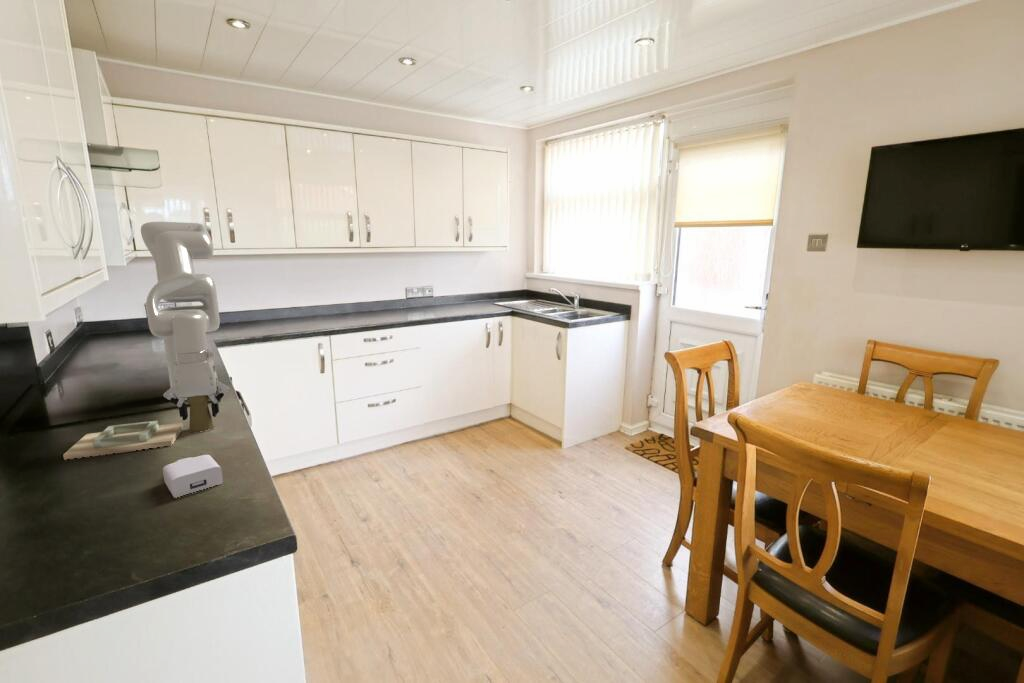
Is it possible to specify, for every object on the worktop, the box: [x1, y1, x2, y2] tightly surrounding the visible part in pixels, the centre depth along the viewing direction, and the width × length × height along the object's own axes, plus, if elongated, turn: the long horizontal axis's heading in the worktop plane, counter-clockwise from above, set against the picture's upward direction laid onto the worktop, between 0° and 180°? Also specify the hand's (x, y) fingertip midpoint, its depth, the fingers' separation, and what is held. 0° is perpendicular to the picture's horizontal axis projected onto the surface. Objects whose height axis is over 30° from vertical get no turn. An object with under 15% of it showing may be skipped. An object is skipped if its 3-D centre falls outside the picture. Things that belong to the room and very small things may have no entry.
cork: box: [186, 395, 215, 433], centre depth 134 cm, size 6×6×11 cm
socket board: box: [62, 420, 185, 461], centre depth 125 cm, size 14×22×4 cm, turn 114°
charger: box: [162, 454, 224, 499], centre depth 106 cm, size 5×9×15 cm
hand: (200, 416), depth 134 cm, fingers open, 6 cm apart
